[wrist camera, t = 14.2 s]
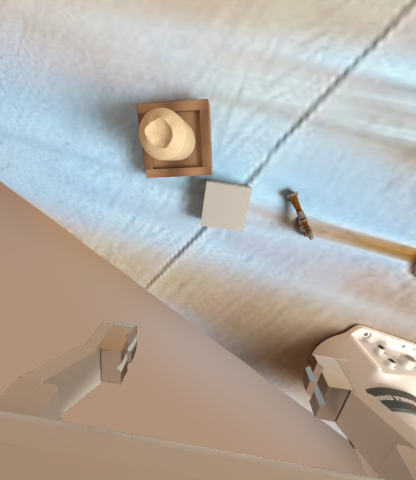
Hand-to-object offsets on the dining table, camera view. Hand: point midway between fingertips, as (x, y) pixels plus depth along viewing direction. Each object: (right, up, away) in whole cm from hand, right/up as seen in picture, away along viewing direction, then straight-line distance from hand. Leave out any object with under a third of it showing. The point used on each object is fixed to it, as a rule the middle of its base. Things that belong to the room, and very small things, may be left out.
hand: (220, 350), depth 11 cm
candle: (-5, +20, +24) cm, 31 cm away
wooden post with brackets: (+15, +10, +29) cm, 34 cm away
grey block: (+2, +12, +29) cm, 31 cm away
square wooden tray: (-5, +21, +26) cm, 34 cm away
